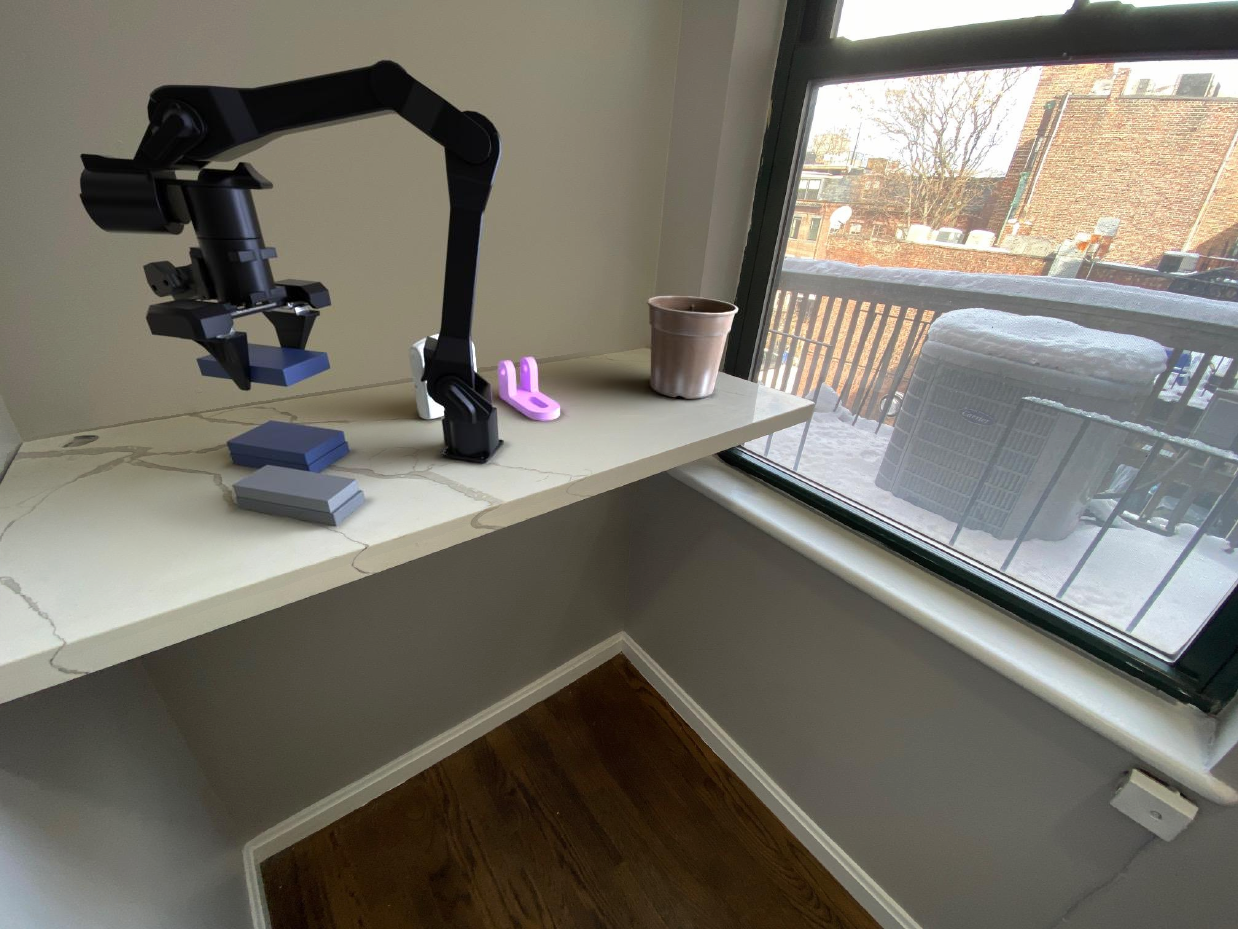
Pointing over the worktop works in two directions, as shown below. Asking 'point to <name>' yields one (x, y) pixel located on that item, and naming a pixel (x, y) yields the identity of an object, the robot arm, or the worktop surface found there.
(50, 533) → the worktop surface
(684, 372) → the plant pot
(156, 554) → the worktop surface
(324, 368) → the navy book
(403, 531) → the worktop surface
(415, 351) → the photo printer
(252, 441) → the navy books
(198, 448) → the worktop surface
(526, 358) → the bracket
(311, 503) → the grey books
